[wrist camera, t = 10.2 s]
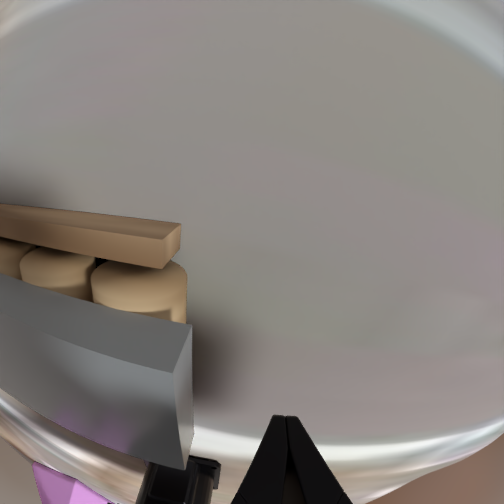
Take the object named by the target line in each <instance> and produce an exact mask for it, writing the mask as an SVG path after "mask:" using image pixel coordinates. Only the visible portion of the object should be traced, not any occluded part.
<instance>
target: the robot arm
mask: <svg viewBox="0 0 504 504" xmlns="http://www.w3.org/2000/svg"><path fill="white" fill-rule="evenodd" d="M144 462H145V465H146V467H147V470H146V473H145V476H144V479H143V482H142V485H141V488H140V491H139V494H138V497H137V500H136V504H210V503H211V496H212V490H213V489H218V484H219V477H220V469H221V464H220V463H218V462H213V461H207V460H201V459H196V458H191V457H188V460H187V464H186V468H185V470H180V469H176V468H172V467H168V466H164V465H160V464H156V463H153V462H149V461H146V460H144ZM107 504H112V503H109V502H108V503H107ZM117 504H118V503H117ZM231 504H353V503H352V502H351V500H350V499H349V498H348V496H347V494H346V493H345V492H344V490H343V489H342V487H341V486H340V484H339V483H338V481H337V479H336V478H335V476H334V475H333V473H332V472H331V470H330V469H329V467H328V465H327V464H326V462H325V461H324V459H323V458H322V456H321V454H320V453H319V451H318V450H317V448H316V446H315V445H314V443H313V441H312V440H311V438H310V437H309V435H308V433H307V432H306V430H305V428H304V427H303V425H302V423H301V422H300V420H299V418H298V417H296V416H283V415H273V416H272V418H271V421H270V423H269V425H268V428H267V430H266V432H265V434H264V437H263V439H262V441H261V443H260V446H259V448H258V450H257V452H256V454H255V457H254V459H253V461H252V463H251V465H250V467H249V469H248V471H247V473H246V475H245V477H244V479H243V481H242V483H241V485H240V487H239V489H238V491H237V493H236V495H235V497H234V499H233V500H232V502H231Z"/></svg>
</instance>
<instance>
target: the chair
mask: <svg viewBox="0 0 504 504" xmlns="http://www.w3.org/2000/svg"><path fill="white" fill-rule="evenodd" d="M32 467H33V472H34V476H35V480H36V484H37V487H38V491H39V495H40V498H41V501H42V504H107V503H108V502H109V503H112V504H114V503H113V502H111V501H109V500H108V499H106V498H104V497H103V496H101V495H99V494H98V493H96V492H95V491H93V490H92V489H90V488H89V487H87V486H86V485H84V484H83V483H81V482H80V481H79V480H77V479H75V478H72V477H69V476H67V475H64V474H62V473H60V472H57V471H55V470H53V469H50V468H48V467H46V466H44V465H42V464H40V463H38V462H36V461H34V463H33V464H32Z"/></svg>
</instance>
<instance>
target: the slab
mask: <svg viewBox="0 0 504 504" xmlns="http://www.w3.org/2000/svg"><path fill="white" fill-rule="evenodd" d="M0 388H1V389H2V390H4V391H5V392H7V393H8V394H9V395H11V396H12V397H14V398H15V399H17V400H18V401H20V402H21V403H23V404H24V405H26V406H27V407H29V408H30V409H32V410H34V411H35V412H37V413H39V414H40V415H42V416H44V417H46V418H47V419H49V420H51V421H53V422H54V423H56V424H58V425H60V426H62V427H64V428H66V429H68V430H70V431H72V432H74V433H76V434H78V435H80V436H82V437H85V438H87V439H89V440H91V441H94V442H96V443H98V444H101V445H103V446H106V447H108V448H111V449H114V450H116V451H119V452H122V453H125V454H127V455H130V456H133V457H136V458H140V459H143V460H146V461H149V462H153V463H156V464H160V465H164V466H168V467H172V468H176V469H180V470H185V468H186V464H187V460H188V456H189V452H190V448H191V444H192V439H193V435H194V421H193V392H192V325H190V324H184V323H179V322H174V321H169V320H164V319H159V318H154V317H150V316H145V315H141V314H136V313H132V312H128V311H123V310H119V309H115V308H111V307H107V306H103V305H100V304H96V303H92V302H88V301H85V300H81V299H78V298H74V297H71V296H67V295H64V294H61V293H58V292H54V291H51V290H48V289H45V288H42V287H39V286H36V285H32V284H30V283H27V282H24V281H21V280H19V279H16V278H13V277H10V276H8V275H5V274H2V273H0Z"/></svg>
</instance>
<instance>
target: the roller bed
mask: <svg viewBox="0 0 504 504" xmlns="http://www.w3.org/2000/svg"><path fill="white" fill-rule="evenodd" d="M180 232H181V224H178V223H170V222H162V221H154V220H146V219H138V218H130V217H122V216H113V215H105V214H96V213H87V212H78V211H69V210H59V209H49V208H40V207H29V206H19V205H8V204H0V273H2V274H5V275H8V276H10V277H13V278H16V279H19V280H21V281H24V282H27V283H30V284H32V285H36V286H39V287H42V288H45V289H48V290H51V291H54V292H58V293H61V294H64V295H67V296H71V297H74V298H78V299H81V300H85V301H88V302H92V303H96V304H100V305H103V306H107V307H111V308H115V309H119V310H123V311H128V312H132V313H136V314H141V315H145V316H150V317H154V318H159V319H164V320H169V321H174V322H179V323H184V324H186V302H187V274H186V271H185V270H184V269H183V268H182V267H181V266H180V265H178V264H176V263H175V262H172V261H170V259H171V258H172V257H173V256H174V255H175V254H176V252H177V251H178V250H179V249H180ZM35 244H36V245H40V246H43V247H40V248H37V249H36V246H35ZM95 257H98V258H103V259H108V260H110V261H107V262H105V263H103V264H101V265H100V266H98V267H97V268H96V263H95Z"/></svg>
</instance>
